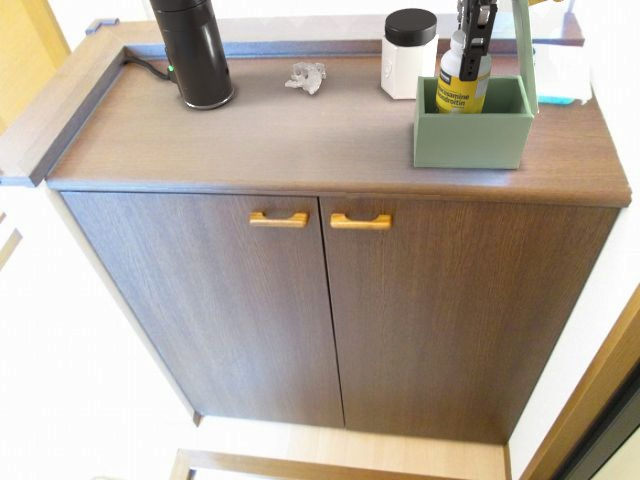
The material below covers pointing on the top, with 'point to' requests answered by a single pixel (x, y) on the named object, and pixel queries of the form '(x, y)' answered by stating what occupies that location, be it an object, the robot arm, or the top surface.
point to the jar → (408, 51)
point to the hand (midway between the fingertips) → (465, 64)
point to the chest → (473, 127)
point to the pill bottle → (460, 82)
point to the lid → (526, 48)
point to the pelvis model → (314, 76)
